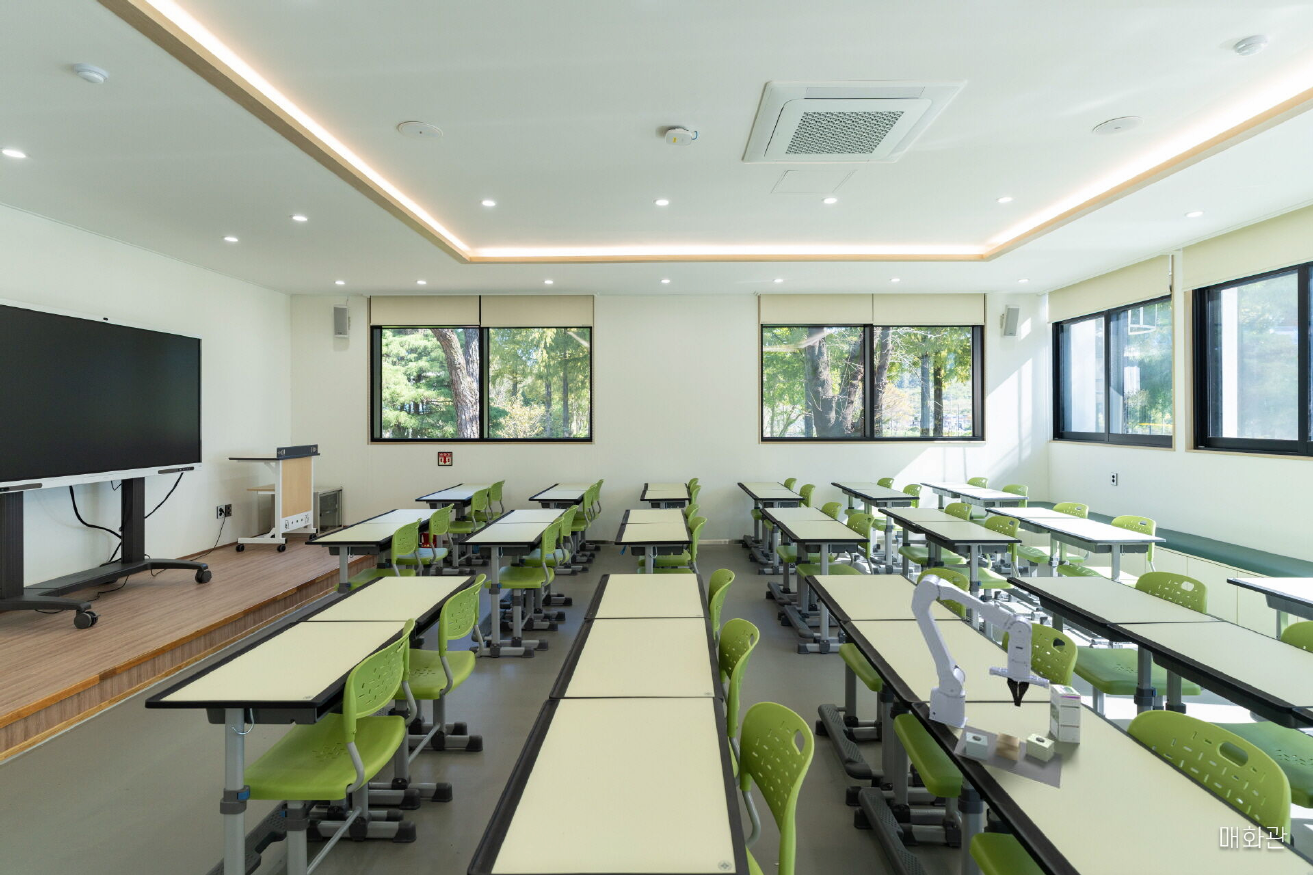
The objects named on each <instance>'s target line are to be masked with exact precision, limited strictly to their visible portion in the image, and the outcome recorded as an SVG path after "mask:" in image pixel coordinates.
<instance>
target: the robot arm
mask: <svg viewBox="0 0 1313 875" xmlns="http://www.w3.org/2000/svg"><path fill="white" fill-rule="evenodd" d="M938 597H939V601H944V600H945V601H946V600H952V601H954V602H957V603H959V604H961V605H962V606H965V607H967V608H969V609H971V610H973V611H976V612H977V613H979V615H980V618H981V619H982V620H984V621H985V622H988V623H989V624H990V625H991V624H992V626H995V627H996V628H998V629H1000V630H1002V631H1004V632H1007V634H1008V635H1009V638H1008V641H1007V662H1006V663H1007V666H1006V667H997V666H993V665H990V666H989V667H988V668H989V670H988V671H989V672H988V673H989V675H990V676H997V677H1002V678H1006V679H1007V680H1006V684H1007V687H1008V689H1009V690H1010V692H1011V695H1012V698H1013V703H1014V704H1013V705H1014V706H1015V707H1018V708H1021V706H1022V702H1023V701H1022V699H1023V698H1024V696H1025V694H1026V693H1027V691H1028V690H1029V687H1030V685H1034V686H1038V687H1042V688H1044V689H1046V690H1049V689H1050V679H1047V678H1043V677H1040V676H1037V675H1036V674H1035V675H1034V674H1032V672H1031V670H1032V665H1031V663H1032V637H1033V624H1032V622H1031V621H1030V620H1029V618H1028V617H1026V616H1025V615H1024V614H1019V613H1017V612H1011V611H1009V610H1008V609H1006V608H1005V607H1001V603H999V602H997V601H996V602H993V601H986V602H984V601H982V600H981V599H978V598H977V597H975V596H973V595H971V594H970V593H969V592H966V591H965V590H963V589H962V588H960V587H958V586H956V585H955V584H953V583H951V582H950V581H948V580H947V579H944V578H942V577H941V578H940V577H939V576H938V575H936V574H932V573H931V574H926V575H924V576H923V577H922V578H921V579H920V581H919V582H918V584H917V585H916V586H915V587H914V589H913V594H912V600H911V603H910V604H911V606H910V608H911V612H912V613H913V616H914V618H915V620H916V622H917V624H918V627H919V630H920V632H921V634H922V636H923V638H924V641H925V643H926V645H927V647H928V650H929V652H930V654H931V657H932V659H933V661H934V663H935V669H936V670H935V671H936V675H937V676H938V686H932V687H931V690H930V696H929V717H928V719H930V720H933V721H935V722H938V723H941V724H944V725H948V726H952V727H955V728H958V729H961V730H963V729H964V726H965V725H967V724H966V723H967V722H968V718H969V717H967V716H965V714H966V713H965V712H966V709H965V708H966V691H965V690H964V688H963V686H964V683H965V681H966V673H965V672H964V670H963V669H962V668H961V667H960V666H959V665H958V663H957V662H956V660H955V659H954V658H953V657H952V655H951V653H950V651H949V649H948V646H947V644H946V642H945V640H944V637H943V634H941V633H942V632H941V630H940V629H939V626H938V624H937V622H936V620H935V618H934V616H933V613H932V611H931V609H930V607H931V605H932V604H933V602H935V601H936V600H937V598H938Z"/></svg>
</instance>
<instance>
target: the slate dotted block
mask: <svg viewBox="0 0 1313 875" xmlns="http://www.w3.org/2000/svg"><path fill="white" fill-rule="evenodd" d="M987 752H988V744H987V737H986V736H982V735H978V734H974V733H969V732H966V755H968V756H972V757H976V758H980V759H984V760H987Z"/></svg>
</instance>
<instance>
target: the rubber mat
mask: <svg viewBox="0 0 1313 875" xmlns="http://www.w3.org/2000/svg"><path fill="white" fill-rule="evenodd" d="M966 732H969V733H974V734H978V735H982V736H986V737H987V744H988V752H987V760H984V759H980V758H976V757H972V756H968V755H966ZM998 735H999V734H997V733H994V732H992V731H991V732H990V731H988V730H984V729H980V728H976V727H974V726H970V725H967V724H965V726H964V729H962V732H961V734H960V736H959V738H958V741H957V743H956V746H955V748H954V751H953V754H956V755H958V756H961V757H964V758H967V759H970V760H974V761H976V762H978V763H979V762H980V763H983V764H986V765H988V766H991V767H994V768H998V769H999V770H1004V771H1007V772H1009V773H1012V774H1015V775H1018V776H1020V777H1021V776H1022V777H1024V778H1027V779H1031V780H1033V781H1037V782H1039V783H1043V784H1045V785H1048V786H1051V787H1054V788H1057V789H1060V788H1061V776H1062V765H1063V753H1060V752H1056V751H1054V756H1053V757H1052V758H1051V759H1050V760H1049V761H1048V762H1045V761H1043V760H1040V759H1038V758H1036V757H1033V756H1031V755H1029V754H1026V742H1023V741H1020V753H1019V758H1018V761H1015V760H1012V759H1009V758H1006V757H1003V756H999V755H996V749H997V738H998Z"/></svg>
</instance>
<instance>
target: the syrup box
mask: <svg viewBox="0 0 1313 875" xmlns="http://www.w3.org/2000/svg"><path fill="white" fill-rule="evenodd" d="M1049 696H1050V698H1049V699H1050V701H1049V703H1050V704H1049V731H1050V732H1051V734H1052V736H1054V738H1056V740H1057V741H1059V742H1066V743H1076V744H1080V743H1081V708H1082V707H1081V706H1082V705H1081V701H1082V698H1081V697H1082V695H1081V694H1080V693H1079V692H1078V691H1077V690H1075V689H1074V688H1073V686H1071V685H1065V684H1050V695H1049Z"/></svg>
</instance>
